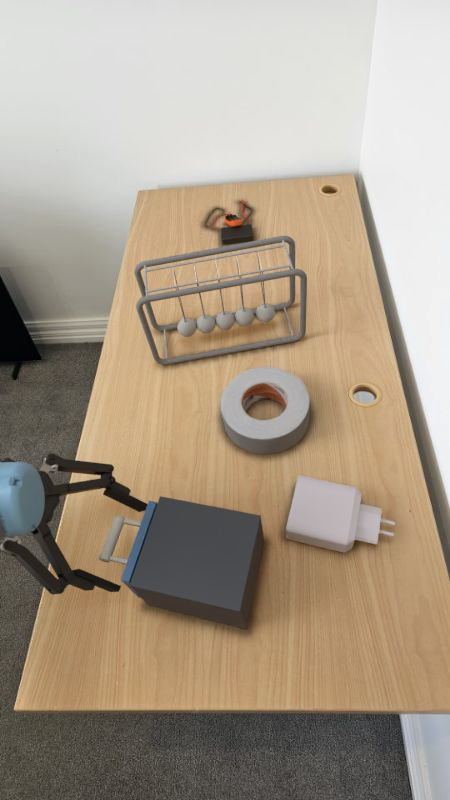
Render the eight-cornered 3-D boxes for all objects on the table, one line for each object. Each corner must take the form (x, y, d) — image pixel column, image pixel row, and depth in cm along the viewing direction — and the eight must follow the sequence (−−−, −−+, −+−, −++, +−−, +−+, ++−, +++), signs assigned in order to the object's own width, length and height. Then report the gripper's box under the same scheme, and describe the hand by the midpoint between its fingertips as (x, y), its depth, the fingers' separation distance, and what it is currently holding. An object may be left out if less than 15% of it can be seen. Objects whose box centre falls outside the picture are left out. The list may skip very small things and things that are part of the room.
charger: (388, 565, 72) (285, 540, 76) (394, 507, 77) (298, 486, 80) (393, 554, 68) (285, 528, 72) (400, 493, 73) (298, 472, 77)
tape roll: (207, 409, 91) (203, 393, 87) (275, 369, 95) (274, 352, 91) (255, 470, 83) (253, 456, 79) (327, 424, 87) (329, 407, 82)
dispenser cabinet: (148, 605, 72) (129, 585, 64) (174, 524, 79) (159, 495, 71) (246, 630, 69) (239, 611, 60) (264, 542, 76) (260, 515, 67)
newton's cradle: (294, 304, 104) (294, 232, 90) (306, 340, 98) (308, 269, 84) (153, 330, 105) (131, 262, 90) (156, 367, 99) (132, 301, 84)
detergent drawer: (106, 589, 73) (86, 571, 66) (132, 517, 80) (116, 494, 73) (227, 619, 69) (219, 603, 62) (245, 540, 75) (240, 518, 68)
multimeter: (207, 202, 129) (205, 190, 127) (253, 198, 128) (252, 186, 125) (203, 246, 119) (200, 234, 116) (253, 243, 118) (252, 230, 115)
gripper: (21, 414, 73) (145, 479, 82) (-70, 576, 60) (88, 632, 69) (38, 397, 67) (168, 469, 76) (-59, 572, 54) (112, 634, 63)
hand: (130, 547), depth 73 cm, fingers open, 11 cm apart
